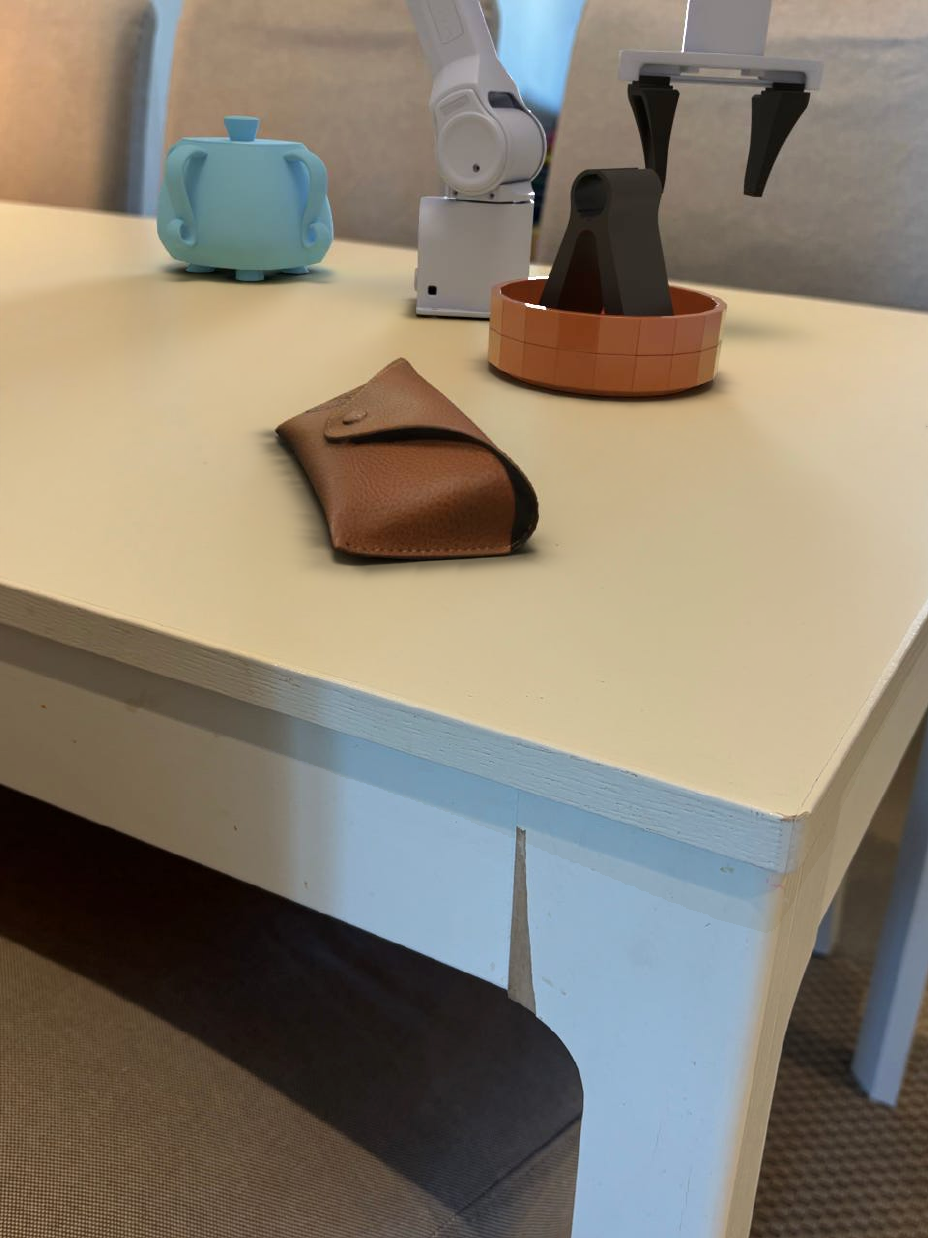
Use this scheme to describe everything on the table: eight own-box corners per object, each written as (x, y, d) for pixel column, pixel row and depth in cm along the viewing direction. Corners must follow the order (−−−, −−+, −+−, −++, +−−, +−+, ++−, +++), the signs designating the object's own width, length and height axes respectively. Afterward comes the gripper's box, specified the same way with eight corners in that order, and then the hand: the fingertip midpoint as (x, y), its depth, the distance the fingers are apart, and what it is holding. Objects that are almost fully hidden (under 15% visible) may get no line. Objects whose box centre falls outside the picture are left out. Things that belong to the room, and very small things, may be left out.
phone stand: (681, 368, 71) (707, 173, 66) (633, 382, 67) (657, 175, 61) (570, 344, 76) (586, 162, 71) (519, 356, 72) (532, 163, 67)
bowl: (486, 394, 65) (491, 310, 63) (487, 342, 79) (491, 271, 76) (735, 406, 65) (748, 323, 63) (693, 352, 78) (703, 282, 76)
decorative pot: (334, 262, 111) (333, 118, 105) (332, 286, 97) (330, 121, 91) (174, 257, 109) (164, 110, 104) (148, 281, 95) (134, 112, 89)
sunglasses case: (262, 423, 55) (325, 309, 54) (375, 482, 59) (437, 376, 57) (333, 557, 40) (425, 404, 39) (480, 626, 44) (569, 487, 42)
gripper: (806, -7, 78) (774, 192, 84) (615, -19, 76) (596, 185, 82) (850, -14, 72) (812, 201, 78) (643, -28, 70) (621, 194, 76)
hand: (703, 194), depth 80 cm, fingers open, 7 cm apart
